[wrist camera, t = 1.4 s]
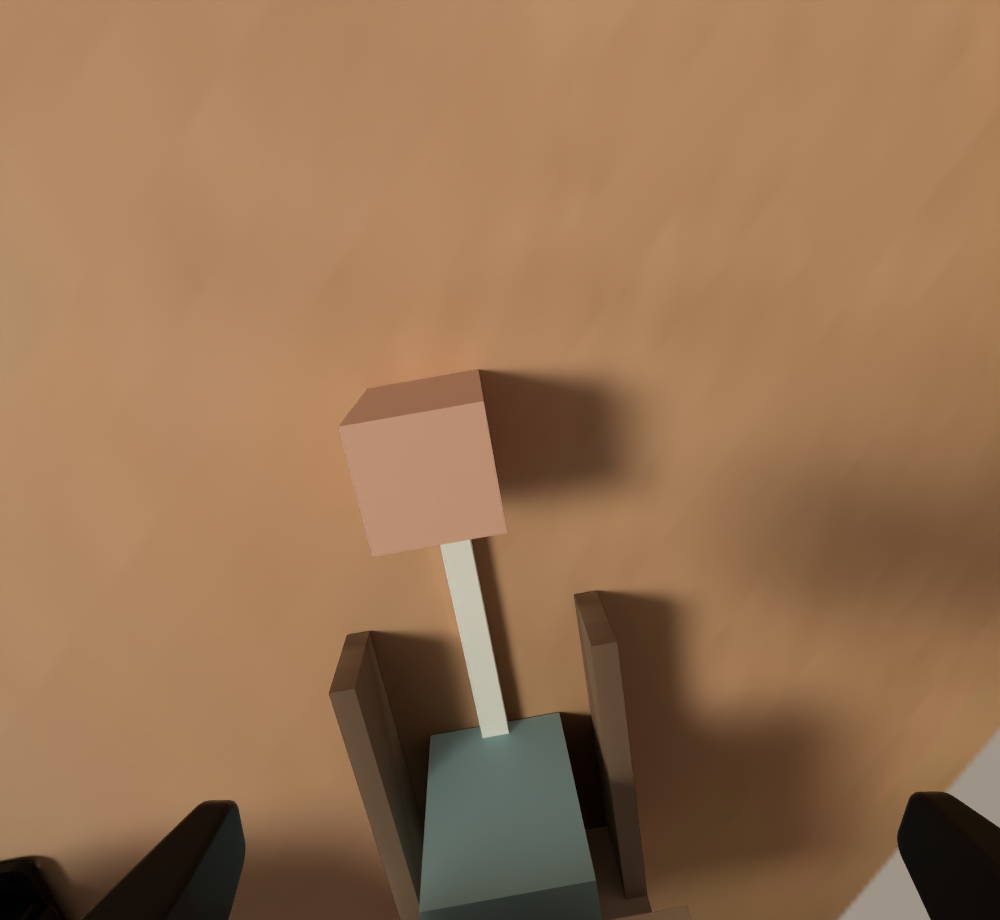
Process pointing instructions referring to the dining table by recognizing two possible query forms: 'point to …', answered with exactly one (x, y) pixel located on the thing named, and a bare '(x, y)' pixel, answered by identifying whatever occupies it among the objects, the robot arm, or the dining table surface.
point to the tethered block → (470, 667)
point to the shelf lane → (395, 803)
